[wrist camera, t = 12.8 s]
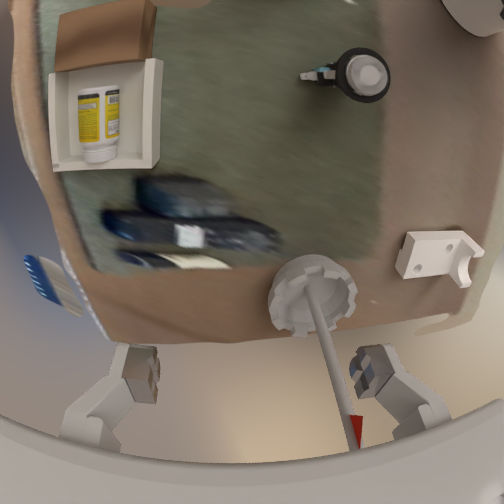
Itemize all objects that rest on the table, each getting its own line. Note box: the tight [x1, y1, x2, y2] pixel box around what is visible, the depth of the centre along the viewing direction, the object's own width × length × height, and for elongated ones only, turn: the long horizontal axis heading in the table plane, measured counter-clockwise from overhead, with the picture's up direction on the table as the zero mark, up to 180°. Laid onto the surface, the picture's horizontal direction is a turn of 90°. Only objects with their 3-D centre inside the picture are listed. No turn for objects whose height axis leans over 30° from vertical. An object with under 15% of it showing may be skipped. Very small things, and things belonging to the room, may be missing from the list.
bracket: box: [395, 231, 485, 288], centre depth 40 cm, size 13×7×8 cm, turn 91°
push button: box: [300, 48, 390, 103], centre depth 24 cm, size 7×5×10 cm
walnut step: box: [54, 0, 157, 72], centre depth 21 cm, size 7×10×5 cm
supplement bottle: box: [78, 85, 119, 163], centre depth 26 cm, size 5×5×8 cm
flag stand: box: [268, 254, 365, 451], centre depth 32 cm, size 13×13×30 cm
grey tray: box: [48, 58, 164, 172], centre depth 27 cm, size 12×13×4 cm
